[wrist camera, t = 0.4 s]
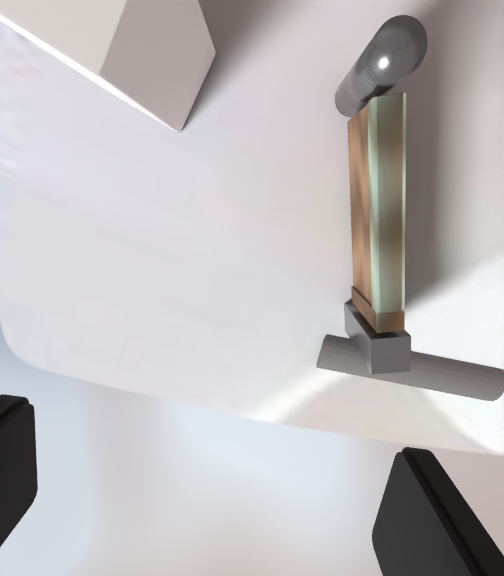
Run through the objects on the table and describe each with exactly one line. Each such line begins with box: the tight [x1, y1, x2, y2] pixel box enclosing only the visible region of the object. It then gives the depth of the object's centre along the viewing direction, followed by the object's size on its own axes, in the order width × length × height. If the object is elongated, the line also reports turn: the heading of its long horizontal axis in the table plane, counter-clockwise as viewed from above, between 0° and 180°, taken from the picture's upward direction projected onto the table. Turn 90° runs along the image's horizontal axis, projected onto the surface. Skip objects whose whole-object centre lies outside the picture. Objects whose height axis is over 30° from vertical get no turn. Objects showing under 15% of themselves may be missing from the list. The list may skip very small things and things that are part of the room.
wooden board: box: [348, 93, 406, 333], centre depth 26 cm, size 16×2×7 cm, turn 7°
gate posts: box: [335, 15, 427, 375], centre depth 26 cm, size 3×23×10 cm, turn 7°
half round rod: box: [317, 335, 504, 401], centre depth 34 cm, size 4×20×2 cm, turn 79°
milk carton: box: [0, 0, 216, 133], centre depth 19 cm, size 7×7×19 cm
